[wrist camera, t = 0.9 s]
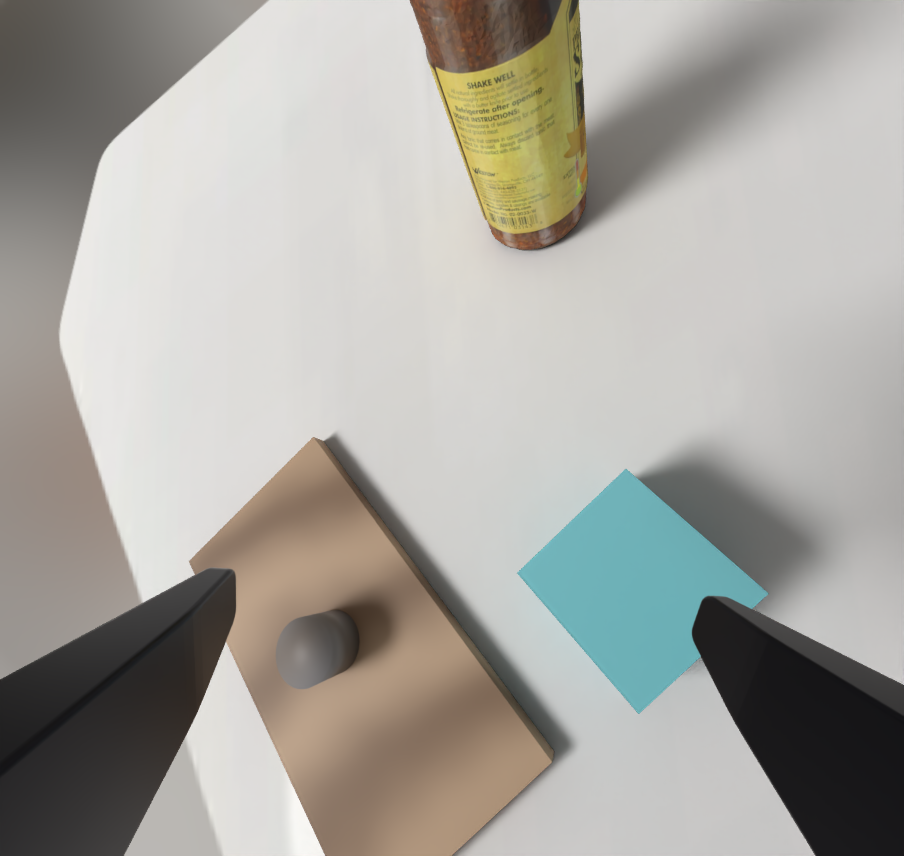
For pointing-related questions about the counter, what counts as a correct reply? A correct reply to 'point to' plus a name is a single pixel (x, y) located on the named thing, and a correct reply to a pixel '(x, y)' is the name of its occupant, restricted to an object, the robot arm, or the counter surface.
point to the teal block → (634, 586)
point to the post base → (365, 672)
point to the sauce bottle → (514, 109)
